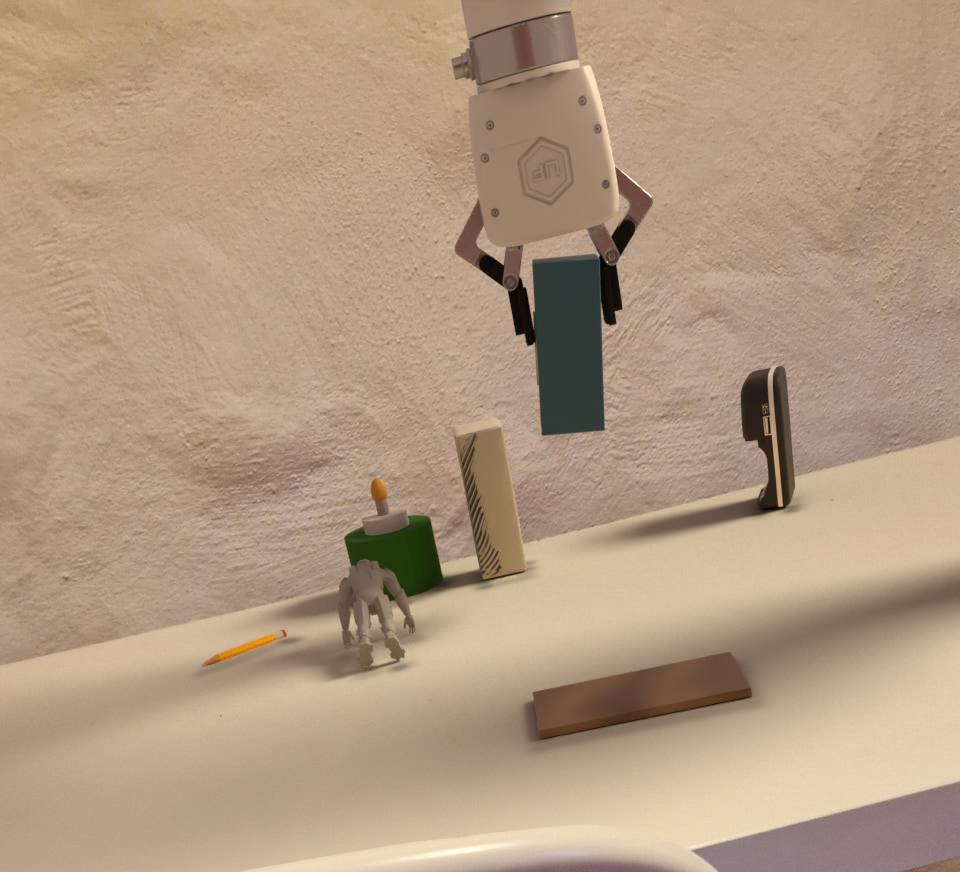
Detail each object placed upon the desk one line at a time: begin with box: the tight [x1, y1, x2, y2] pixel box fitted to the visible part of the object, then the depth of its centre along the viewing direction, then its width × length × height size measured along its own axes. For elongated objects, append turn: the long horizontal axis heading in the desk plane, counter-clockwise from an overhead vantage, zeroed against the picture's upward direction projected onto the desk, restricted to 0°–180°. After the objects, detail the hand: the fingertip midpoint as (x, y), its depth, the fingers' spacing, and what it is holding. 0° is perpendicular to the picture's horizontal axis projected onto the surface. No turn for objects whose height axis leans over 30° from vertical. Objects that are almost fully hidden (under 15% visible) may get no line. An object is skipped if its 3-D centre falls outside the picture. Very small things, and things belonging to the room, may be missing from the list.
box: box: [452, 416, 528, 580], centre depth 127 cm, size 5×4×13 cm
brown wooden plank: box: [532, 651, 753, 740], centre depth 94 cm, size 14×8×1 cm, turn 91°
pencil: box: [201, 629, 288, 666], centre depth 125 cm, size 1×9×1 cm, turn 123°
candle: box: [343, 477, 444, 601], centre depth 131 cm, size 8×8×10 cm
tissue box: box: [531, 253, 606, 437], centre depth 110 cm, size 12×6×5 cm
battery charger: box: [740, 365, 796, 509], centre depth 129 cm, size 7×4×11 cm, turn 165°
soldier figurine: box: [337, 559, 417, 669], centre depth 117 cm, size 6×5×12 cm
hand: (570, 331), depth 109 cm, fingers closed on tissue box, 5 cm apart
